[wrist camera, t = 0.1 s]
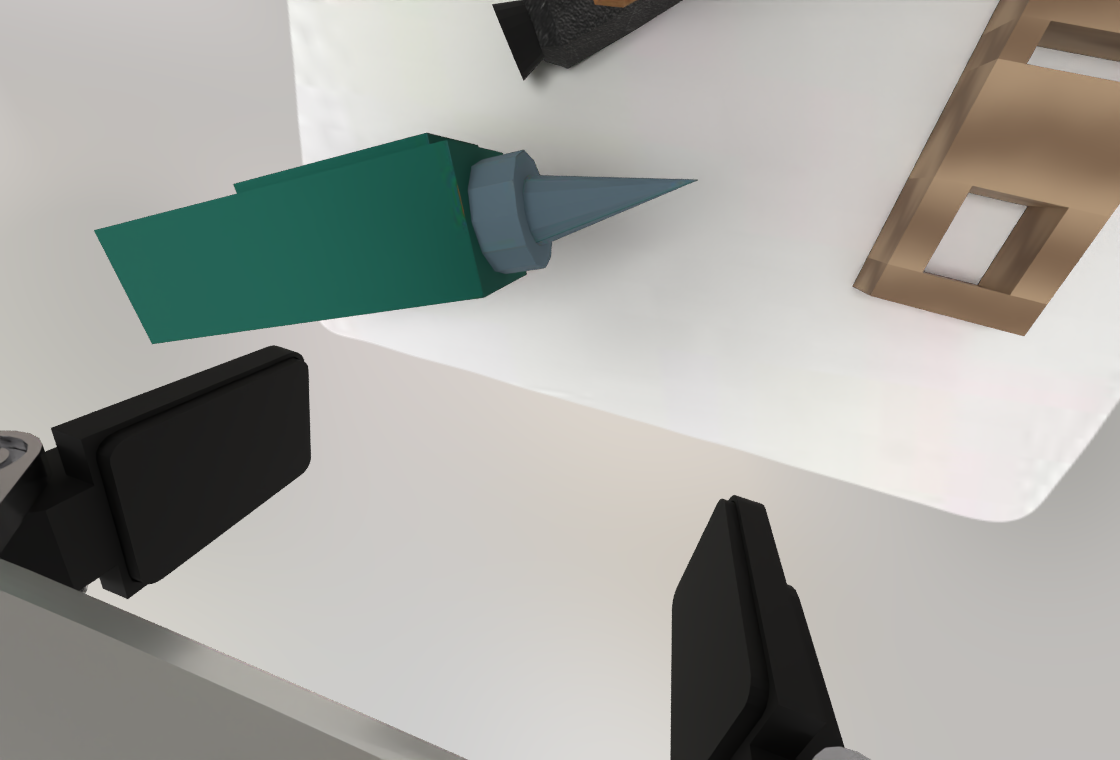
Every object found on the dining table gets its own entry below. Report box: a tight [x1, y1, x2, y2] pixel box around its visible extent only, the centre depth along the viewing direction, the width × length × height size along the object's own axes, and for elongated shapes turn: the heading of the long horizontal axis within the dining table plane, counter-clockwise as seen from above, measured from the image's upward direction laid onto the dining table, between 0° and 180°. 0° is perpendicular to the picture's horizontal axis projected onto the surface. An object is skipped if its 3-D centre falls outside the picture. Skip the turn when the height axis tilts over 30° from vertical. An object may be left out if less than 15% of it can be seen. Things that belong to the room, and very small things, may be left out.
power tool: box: [94, 133, 697, 344], centre depth 30 cm, size 32×7×20 cm, turn 100°
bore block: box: [853, 0, 1120, 336], centre depth 28 cm, size 20×10×4 cm, turn 167°
